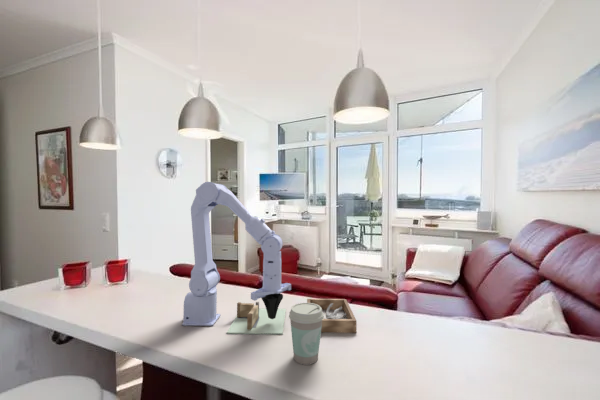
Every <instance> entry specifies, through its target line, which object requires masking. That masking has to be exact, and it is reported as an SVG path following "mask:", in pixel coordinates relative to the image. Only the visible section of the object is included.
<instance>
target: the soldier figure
mask: <svg viewBox="0 0 600 400" xmlns="http://www.w3.org/2000/svg"><path fill="white" fill-rule="evenodd" d="M332 305H333V303H332V304H330V305H329V306H328V308H327V310H325V319H345V318H346V315H347V314H346V313H345V312H344V313H343V314H340V316H337V315H338V313H339V312H340V311H342V310H341V309H342V307H340V308H338V309H336V310H333V313H329V312H330V311H331V310H330V307H332ZM344 317H345V318H344Z"/></svg>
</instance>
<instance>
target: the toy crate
mask: <svg viewBox="0 0 600 400" xmlns="http://www.w3.org/2000/svg"><path fill="white" fill-rule="evenodd" d="M306 303H313V304H317V305H319V306H320V307H321V308H322V311H324V310H325V311H326V310H327V308H328V306H329V305H330V304H332V303H333V305H332V307H330V310H329V311H331V310H332V311H334V310H336V309H338V308H340V307H342V309H341V310H340V311H343V312H344V314H345V313H346V314H347V315H346V316H345V318H343V319H326V318H323V320H322V328H321V333H333V334H334V333H338V334H339V333H340V334H341V333H343V334H344V333H346V334H349V333H350V334H357V319H356V317H355V315H354V313H353V311H352V308H351V306H350V304H349V301H348V300H347V299H345V298H307V299H306Z"/></svg>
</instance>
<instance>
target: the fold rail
mask: <svg viewBox="0 0 600 400" xmlns="http://www.w3.org/2000/svg"><path fill="white" fill-rule="evenodd" d="M257 319H258V305H256V304H254V307H253V308H252V310H251V311H250V312H249V313H248V314H247V329H248V330H250V329H252V327H253V325H254V324H255V322H256V321H257Z"/></svg>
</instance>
